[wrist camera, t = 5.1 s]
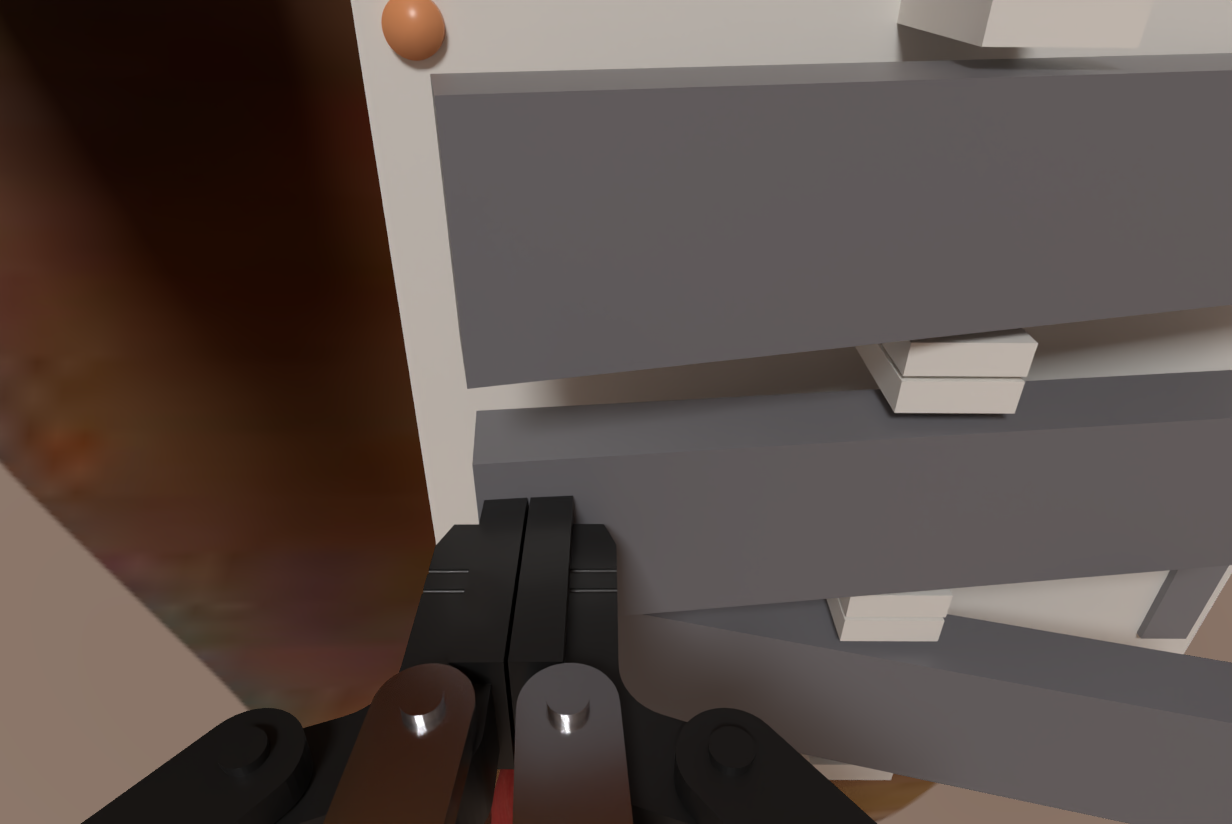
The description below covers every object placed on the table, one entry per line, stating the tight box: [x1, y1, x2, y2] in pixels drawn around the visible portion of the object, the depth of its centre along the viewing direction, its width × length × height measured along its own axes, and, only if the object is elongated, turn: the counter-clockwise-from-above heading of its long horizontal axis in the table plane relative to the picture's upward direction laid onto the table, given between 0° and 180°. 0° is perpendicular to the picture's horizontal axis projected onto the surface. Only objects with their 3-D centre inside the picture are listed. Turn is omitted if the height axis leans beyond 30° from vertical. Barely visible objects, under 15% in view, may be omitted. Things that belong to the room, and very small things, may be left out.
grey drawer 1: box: [430, 53, 1232, 389], centre depth 11 cm, size 4×16×2 cm, turn 90°
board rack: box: [351, 0, 1232, 780], centre depth 17 cm, size 18×20×8 cm
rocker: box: [472, 370, 1232, 616], centre depth 14 cm, size 4×16×2 cm, turn 90°
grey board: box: [618, 599, 1232, 824], centre depth 17 cm, size 4×16×2 cm, turn 90°
